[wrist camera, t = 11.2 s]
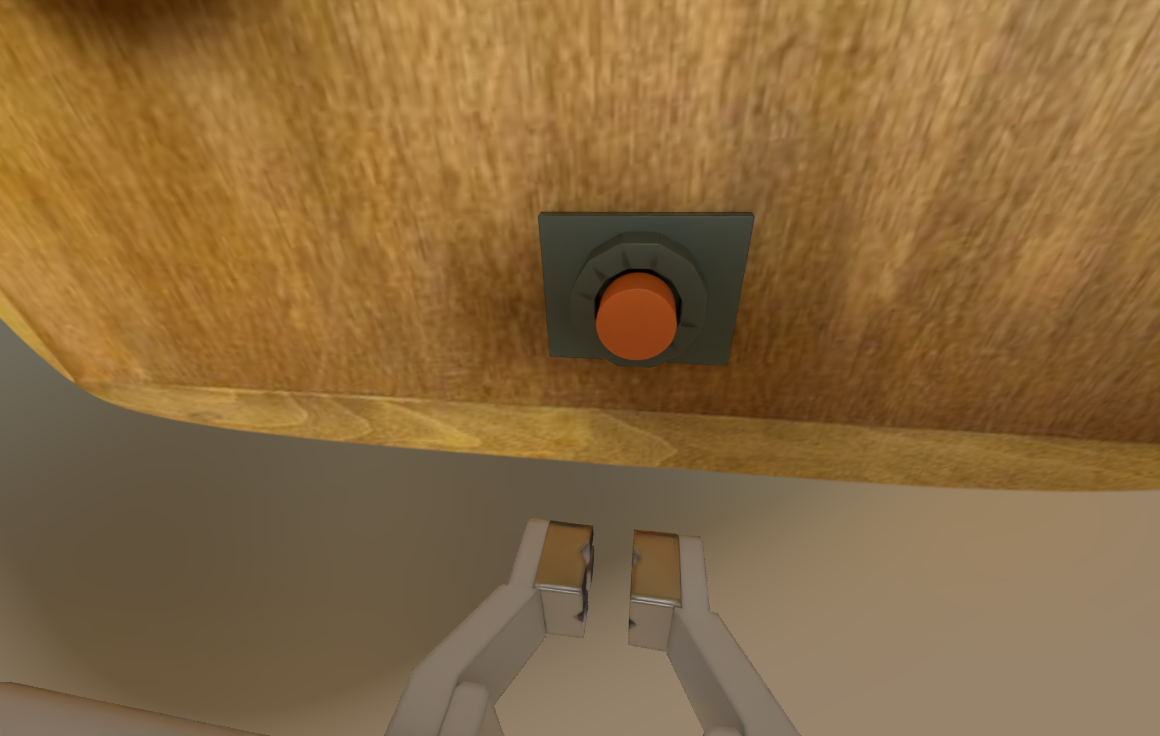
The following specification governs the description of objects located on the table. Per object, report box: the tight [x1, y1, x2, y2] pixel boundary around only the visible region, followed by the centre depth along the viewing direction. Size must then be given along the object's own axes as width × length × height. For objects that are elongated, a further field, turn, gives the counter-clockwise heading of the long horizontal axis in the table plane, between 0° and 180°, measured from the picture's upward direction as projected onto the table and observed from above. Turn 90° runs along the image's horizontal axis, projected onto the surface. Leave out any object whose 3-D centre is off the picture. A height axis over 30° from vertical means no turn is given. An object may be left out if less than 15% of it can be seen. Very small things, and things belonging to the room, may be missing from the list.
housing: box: [538, 212, 754, 368], centre depth 21 cm, size 10×8×2 cm
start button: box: [596, 272, 677, 360], centre depth 20 cm, size 4×4×2 cm
